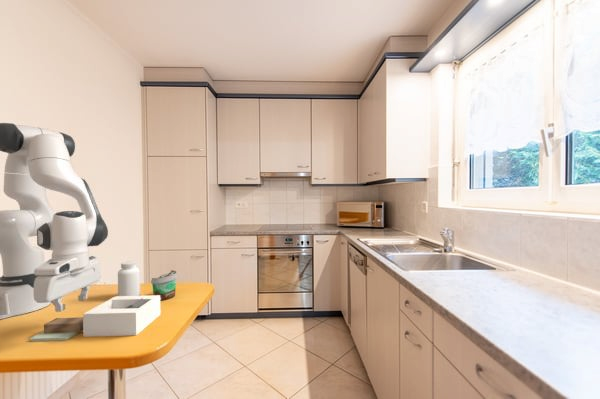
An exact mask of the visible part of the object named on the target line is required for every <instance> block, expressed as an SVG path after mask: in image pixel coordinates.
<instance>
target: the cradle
mask: <svg viewBox="0 0 600 399" xmlns="http://www.w3.org/2000/svg"><path fill="white" fill-rule="evenodd" d="M144 302H145V300H143V298H142V299H140V300H138V301H137V302H135V303H134V304H133V305H134V306H133V305H132V304H131V305H130V306H128V307H126V308H124V309H128V308H137V307H138V306H140V305H141V304H143V303H144Z"/></svg>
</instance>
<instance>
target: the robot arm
mask: <svg viewBox="0 0 600 399" xmlns="http://www.w3.org/2000/svg"><path fill="white" fill-rule="evenodd" d="M75 150H76V143H75V140H74V139H73V137H72V136H71V135H69V134H66V133H63V132H60V131H59V132H57V131H54V130H50V129H48V128H42V127H34V126H29V125H20V124H14V123H9V122H0V152H2V153H6V154H7V157H6V161H5V164H4V174H3V193H4V194H5V195H6V196H7V197H8V198H10V199H12V200H14V201H16V202H17V203H18V205H19V206H18V207H19V209H10V210H9V209H8V210H7V209H6V210H5V209H4V210H0V257H1V263H2V264H1V265H2V275H1V276H0V320H2V319H6V318H9V317H10V318H11V317H15V316H19V315H25V314H27V313H32V312H35V311H39V310H40V309H41V310H42V309H43V308H45V307H48V306H49V305H50V304H52V305H53V306H54V311H55V312H57V313H60V312H62V311H64V310H65V309H66V303H62V300H63V297H64V296H67V295H69V294H72V293H74V292H77V291H78V290H81V291H80V294H79V295H77V298H78V300H77V301H79V302H83V301H85V300H87V299H88V293H89V291H90V289H91V285H93V284H95V283H98V282H100V280H101V278H102V275H101V268H100V267H101V266H100V263H99V260H98V258H97V257H96V256H94V255H90V250H89V247H98V246H100V245H101V244H103V242H105V241H106V239H107V238H108V236H109V230H108V226H107V224H106V222H105V220H104V219H103V217H102V215H101V212H100V210H99V208H98V205H97V203H96V201H95V198H94V196H93V192H92V191H91V189H90V186H89V184H88V182H87V181H86V180H85V179H84V178H83V177H80V176H79V175H78V174H77V173H76V171H75V170H74V169H73V168H74V167H73V166H72V161H71V157H72V156H73V155H74V153H75ZM46 189H48V190H50V191H54V192H58V193H61V194H65V195H67V196H70V197H72V198H74V199H75V201H76V202H77V204H78V206H79V209H80V211H74V210H66V211H65V210H64V211H58V210H56V209H55V208H54V207H53V206H52V205H51V204H50V202H49V200H48V198H47V193H46V192H47V191H46ZM35 236H36V244H37V246H34V245H32V244H31V243H30V241H29V237H35ZM43 250H46V251H52V252H51V258H49V259H48V260H47V261H45V252H44V251H43Z"/></svg>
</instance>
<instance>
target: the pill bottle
mask: <svg viewBox="0 0 600 399" xmlns="http://www.w3.org/2000/svg"><path fill="white" fill-rule="evenodd" d="M120 268H121V269H119V270H118V271H117V296H141V295H140V294H141V278H140V277H141V276H140V275H141V273H140V272H141V270H140V268H139V267H137V261H135V260H128V261H123V262H121V264H120Z"/></svg>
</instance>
